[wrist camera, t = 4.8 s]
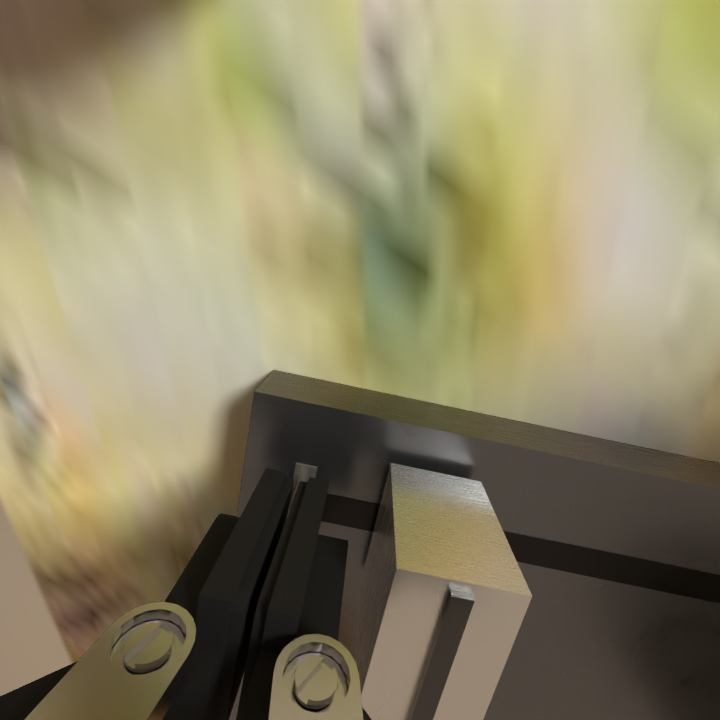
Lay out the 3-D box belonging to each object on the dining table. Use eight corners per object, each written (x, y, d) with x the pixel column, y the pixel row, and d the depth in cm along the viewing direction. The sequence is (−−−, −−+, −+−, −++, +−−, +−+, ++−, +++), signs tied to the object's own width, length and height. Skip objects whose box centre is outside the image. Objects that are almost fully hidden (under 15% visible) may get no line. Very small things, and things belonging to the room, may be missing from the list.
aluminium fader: (480, 481, 10) (535, 603, 7) (441, 602, 11) (470, 763, 8) (390, 462, 10) (397, 575, 7) (359, 585, 11) (350, 739, 8)
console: (804, 481, 13) (883, 523, 11) (608, 827, 17) (637, 901, 15) (274, 370, 12) (254, 391, 10) (215, 748, 17) (193, 813, 15)
